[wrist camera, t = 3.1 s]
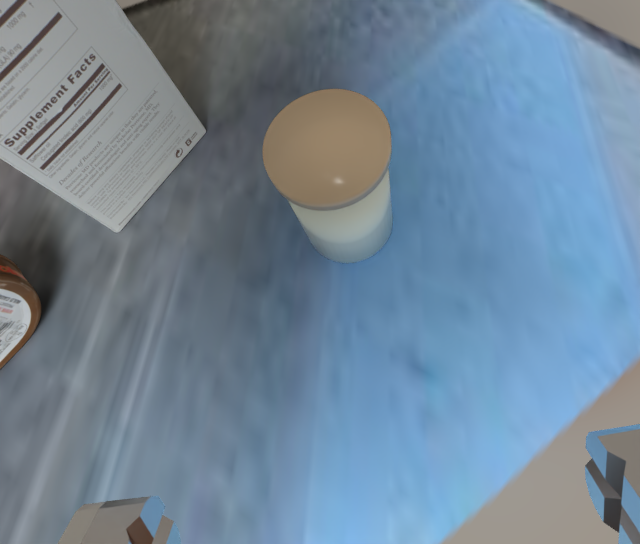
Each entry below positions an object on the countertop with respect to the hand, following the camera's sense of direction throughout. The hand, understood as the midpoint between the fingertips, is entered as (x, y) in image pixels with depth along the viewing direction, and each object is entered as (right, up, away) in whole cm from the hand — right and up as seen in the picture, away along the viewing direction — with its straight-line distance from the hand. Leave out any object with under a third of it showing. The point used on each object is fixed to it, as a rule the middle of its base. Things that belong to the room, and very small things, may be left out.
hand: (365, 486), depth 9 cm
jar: (+1, +7, +17) cm, 19 cm away
